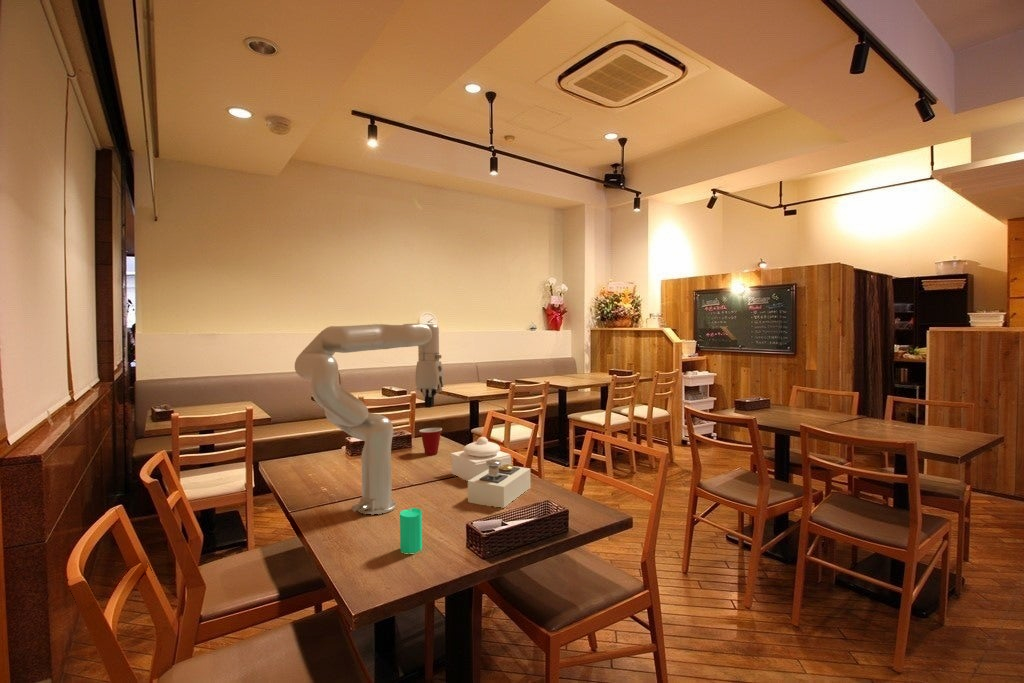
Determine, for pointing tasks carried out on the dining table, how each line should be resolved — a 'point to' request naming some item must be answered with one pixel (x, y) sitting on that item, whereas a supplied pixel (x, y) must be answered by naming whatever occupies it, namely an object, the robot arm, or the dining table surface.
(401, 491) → the dining table surface
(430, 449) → the plastic cup
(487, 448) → the butter dish
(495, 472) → the grey peg
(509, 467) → the brass-capped peg
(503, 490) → the socket block
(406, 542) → the candle
